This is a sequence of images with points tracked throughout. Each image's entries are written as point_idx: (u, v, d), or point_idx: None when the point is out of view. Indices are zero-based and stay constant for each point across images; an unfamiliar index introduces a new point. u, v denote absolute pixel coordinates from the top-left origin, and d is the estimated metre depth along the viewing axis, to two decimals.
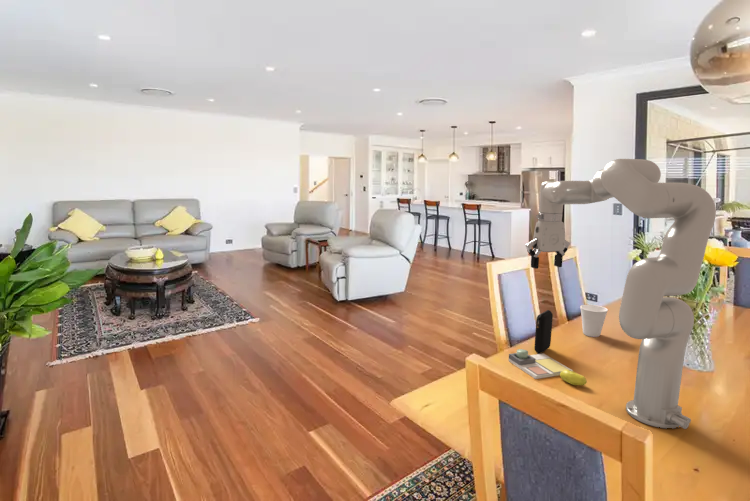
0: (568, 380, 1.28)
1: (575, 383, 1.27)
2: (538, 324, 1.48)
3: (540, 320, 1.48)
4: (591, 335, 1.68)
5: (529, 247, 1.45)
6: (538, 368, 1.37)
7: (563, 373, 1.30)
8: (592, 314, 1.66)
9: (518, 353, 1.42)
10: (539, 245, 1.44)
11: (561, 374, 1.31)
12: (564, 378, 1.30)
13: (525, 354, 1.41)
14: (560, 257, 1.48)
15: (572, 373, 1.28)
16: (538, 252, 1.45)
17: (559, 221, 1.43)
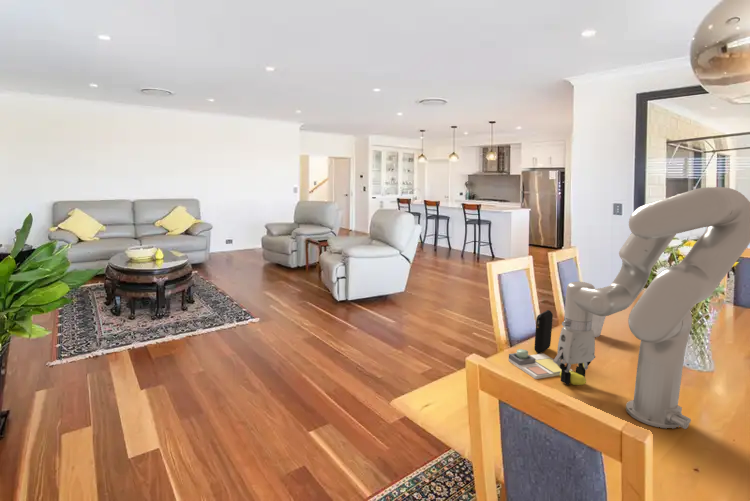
0: None
1: (575, 383, 1.27)
2: (538, 324, 1.48)
3: (540, 320, 1.48)
4: None
5: (558, 363, 1.26)
6: (538, 368, 1.37)
7: None
8: None
9: (518, 353, 1.42)
10: (565, 357, 1.25)
11: None
12: None
13: (525, 354, 1.41)
14: (583, 371, 1.28)
15: (572, 373, 1.28)
16: (568, 366, 1.26)
17: (589, 330, 1.24)
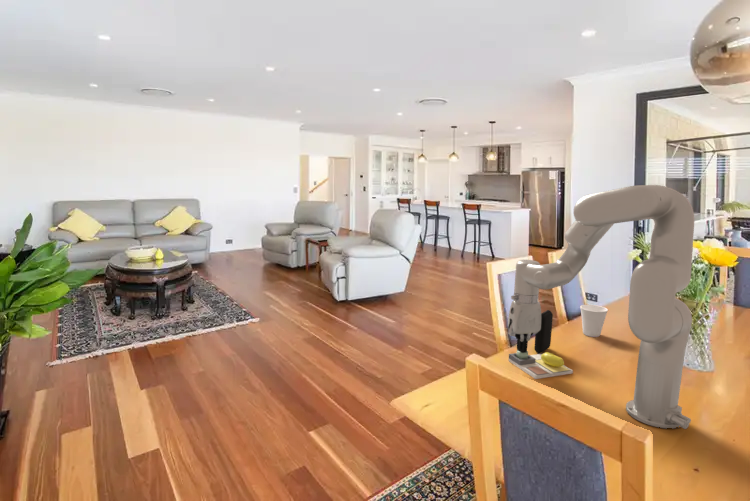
0: (547, 361, 1.38)
1: (553, 364, 1.37)
2: None
3: None
4: (591, 335, 1.68)
5: (513, 335, 1.40)
6: (538, 368, 1.37)
7: (543, 355, 1.40)
8: (592, 314, 1.66)
9: (518, 353, 1.42)
10: (514, 327, 1.38)
11: (541, 356, 1.41)
12: (544, 360, 1.40)
13: (525, 354, 1.41)
14: (525, 342, 1.41)
15: (551, 355, 1.38)
16: (521, 336, 1.40)
17: (535, 303, 1.37)
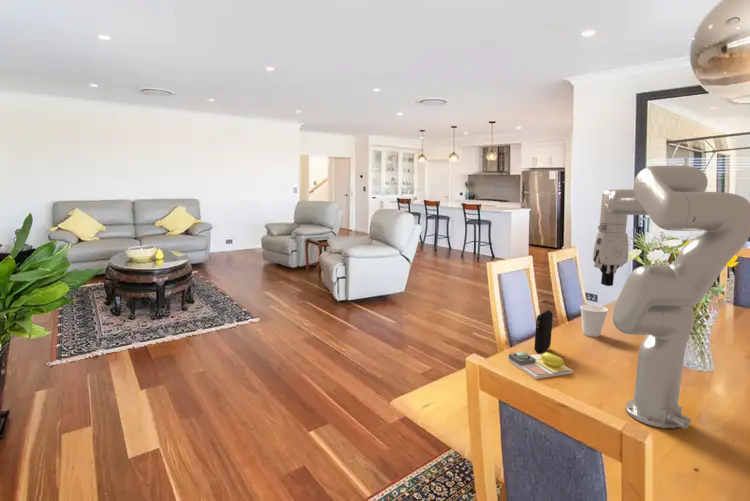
0: (547, 361, 1.38)
1: (553, 364, 1.37)
2: (538, 324, 1.48)
3: (540, 320, 1.48)
4: (591, 335, 1.68)
5: (599, 267, 1.36)
6: (538, 368, 1.37)
7: (543, 355, 1.40)
8: (592, 314, 1.66)
9: (518, 356, 1.42)
10: (602, 258, 1.34)
11: (541, 356, 1.41)
12: (544, 360, 1.40)
13: (525, 356, 1.41)
14: (611, 275, 1.38)
15: (551, 355, 1.38)
16: (608, 268, 1.37)
17: (623, 232, 1.33)
